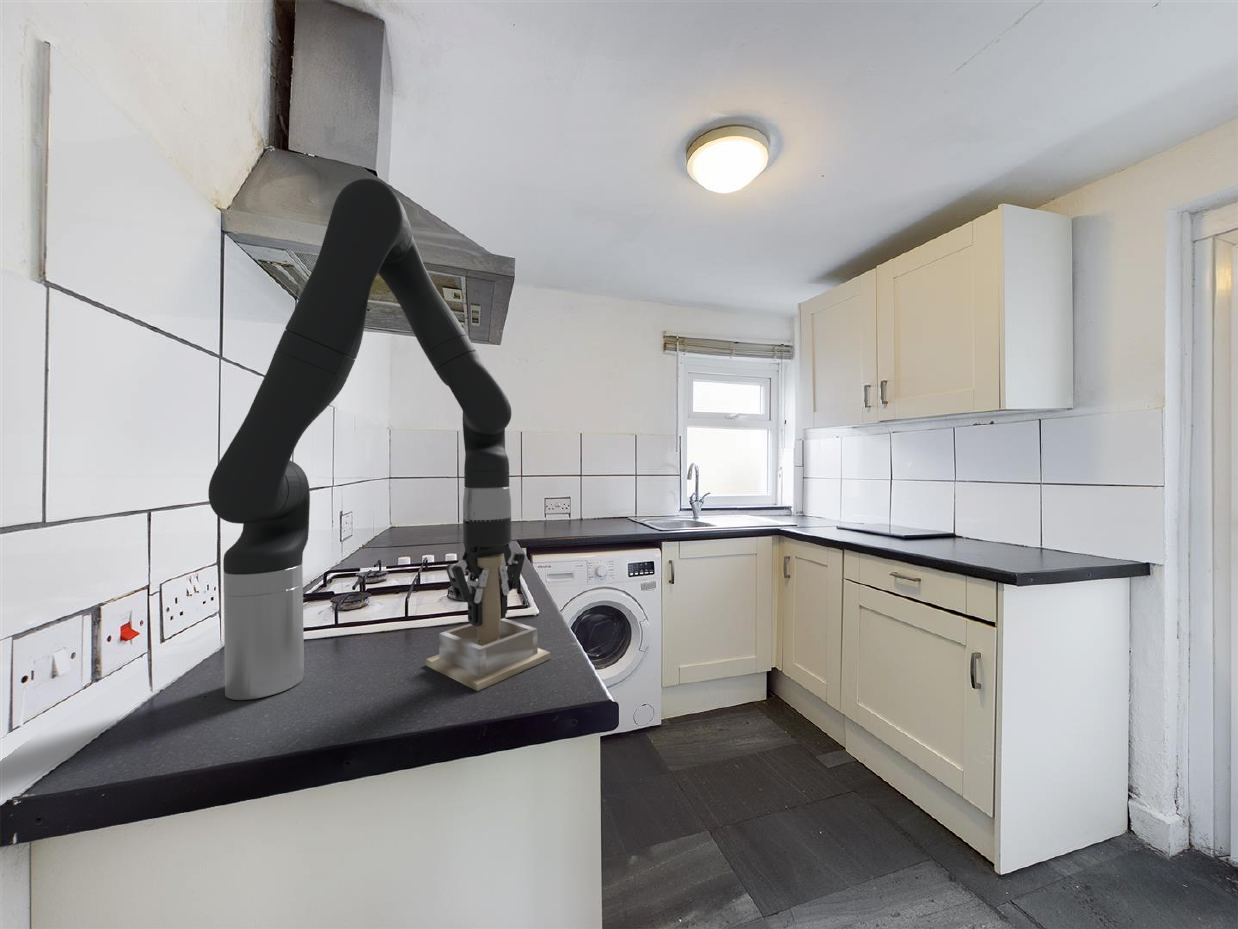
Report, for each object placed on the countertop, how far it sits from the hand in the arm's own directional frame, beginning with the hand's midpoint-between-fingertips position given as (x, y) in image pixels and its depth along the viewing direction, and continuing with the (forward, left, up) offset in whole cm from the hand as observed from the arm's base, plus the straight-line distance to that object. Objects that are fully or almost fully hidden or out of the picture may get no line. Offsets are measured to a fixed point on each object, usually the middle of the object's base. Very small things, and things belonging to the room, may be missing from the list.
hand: (488, 620), depth 77 cm
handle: (0, 0, -4) cm, 4 cm away
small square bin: (0, 0, -7) cm, 7 cm away
